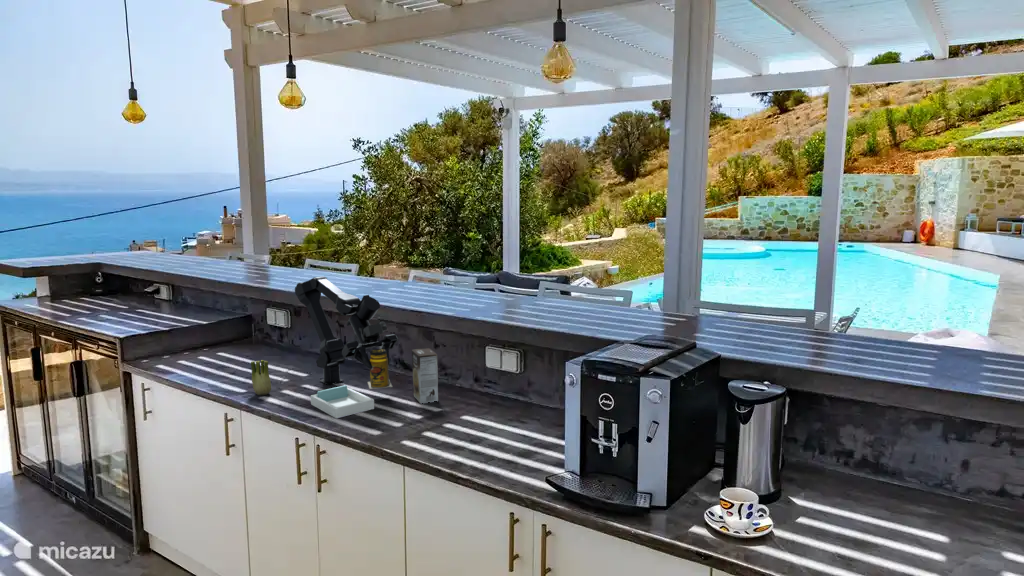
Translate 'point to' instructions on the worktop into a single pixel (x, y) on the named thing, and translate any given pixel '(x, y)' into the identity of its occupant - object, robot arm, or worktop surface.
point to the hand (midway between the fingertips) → (380, 366)
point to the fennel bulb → (260, 377)
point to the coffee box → (425, 375)
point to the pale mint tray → (344, 404)
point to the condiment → (379, 370)
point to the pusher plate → (333, 393)
